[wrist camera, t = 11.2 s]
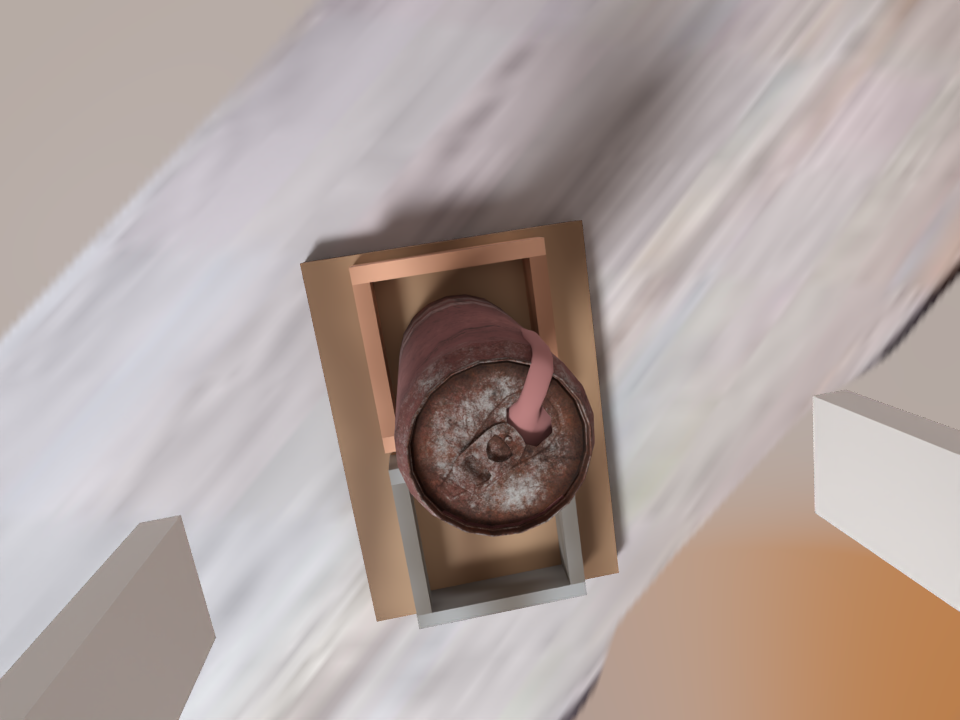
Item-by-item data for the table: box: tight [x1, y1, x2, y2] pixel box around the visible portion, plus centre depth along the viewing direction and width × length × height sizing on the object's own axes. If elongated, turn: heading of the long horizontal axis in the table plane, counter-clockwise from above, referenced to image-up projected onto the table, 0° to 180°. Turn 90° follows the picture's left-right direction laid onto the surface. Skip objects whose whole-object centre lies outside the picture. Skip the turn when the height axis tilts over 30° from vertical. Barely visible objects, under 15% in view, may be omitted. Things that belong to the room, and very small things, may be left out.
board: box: [300, 220, 619, 629], centre depth 31 cm, size 14×20×3 cm
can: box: [394, 294, 595, 537], centre depth 24 cm, size 6×6×14 cm
